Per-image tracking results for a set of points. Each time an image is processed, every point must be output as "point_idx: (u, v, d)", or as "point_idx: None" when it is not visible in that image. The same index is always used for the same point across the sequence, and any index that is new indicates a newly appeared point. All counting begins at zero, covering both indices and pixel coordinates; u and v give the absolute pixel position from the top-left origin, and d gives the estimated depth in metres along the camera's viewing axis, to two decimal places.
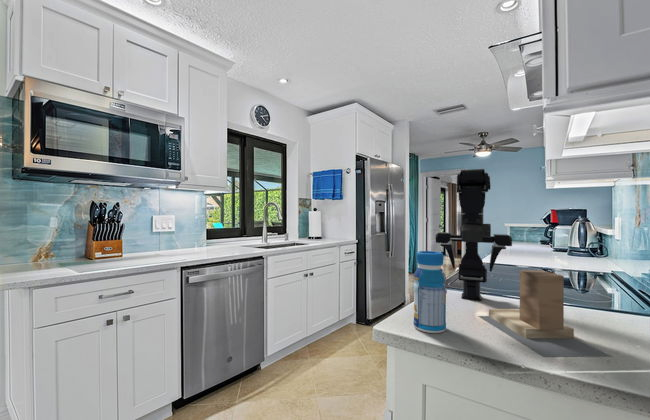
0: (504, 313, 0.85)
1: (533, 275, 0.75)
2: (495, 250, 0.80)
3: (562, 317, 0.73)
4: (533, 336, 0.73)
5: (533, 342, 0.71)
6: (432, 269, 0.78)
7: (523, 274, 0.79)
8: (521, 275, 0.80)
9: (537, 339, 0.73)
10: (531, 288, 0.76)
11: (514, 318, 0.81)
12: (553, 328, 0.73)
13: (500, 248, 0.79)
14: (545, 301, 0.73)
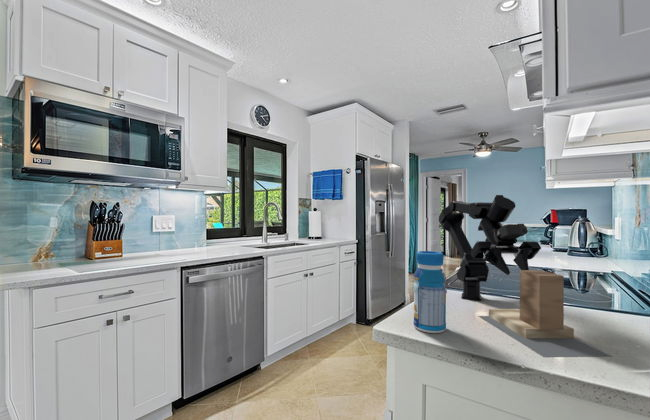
0: (504, 313, 0.85)
1: (533, 275, 0.75)
2: (524, 252, 0.88)
3: (562, 317, 0.73)
4: (533, 336, 0.73)
5: (533, 342, 0.71)
6: (432, 269, 0.78)
7: (523, 274, 0.79)
8: (521, 275, 0.80)
9: (537, 339, 0.73)
10: (531, 288, 0.76)
11: (514, 318, 0.81)
12: (553, 328, 0.73)
13: (528, 249, 0.88)
14: (545, 301, 0.73)
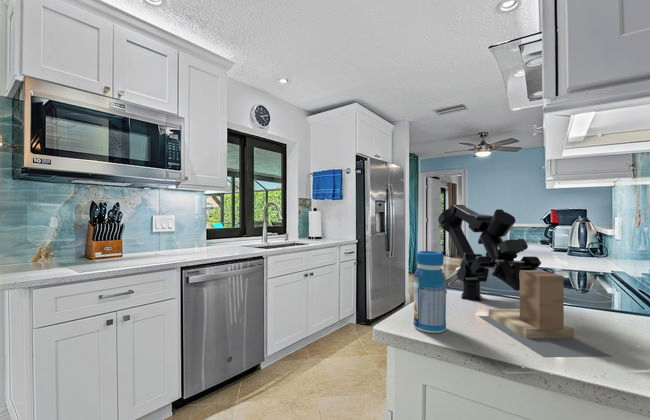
0: (504, 313, 0.85)
1: (533, 275, 0.75)
2: (516, 267, 0.88)
3: (562, 317, 0.73)
4: (533, 336, 0.73)
5: (533, 342, 0.71)
6: (432, 269, 0.78)
7: (523, 274, 0.79)
8: (521, 275, 0.80)
9: (537, 339, 0.73)
10: (531, 288, 0.76)
11: (514, 318, 0.81)
12: (553, 328, 0.73)
13: (520, 264, 0.88)
14: (545, 301, 0.73)
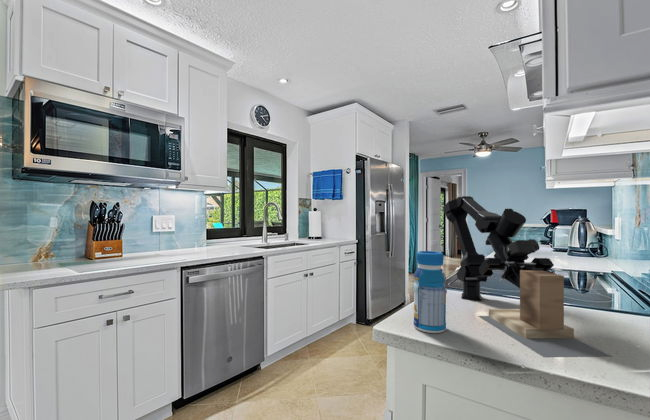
0: (504, 313, 0.85)
1: (533, 275, 0.75)
2: (527, 269, 0.83)
3: (562, 317, 0.73)
4: (533, 336, 0.73)
5: (533, 342, 0.71)
6: (432, 269, 0.78)
7: (523, 274, 0.79)
8: (521, 275, 0.79)
9: (537, 339, 0.73)
10: (532, 289, 0.76)
11: (514, 318, 0.81)
12: (553, 328, 0.73)
13: (531, 266, 0.83)
14: (545, 301, 0.73)
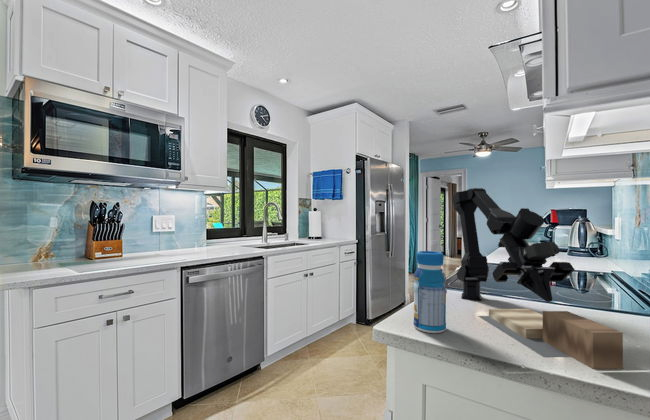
0: (504, 313, 0.85)
1: (591, 357, 0.59)
2: (546, 275, 0.77)
3: None
4: (533, 336, 0.73)
5: (533, 342, 0.71)
6: (432, 269, 0.78)
7: (589, 338, 0.60)
8: (587, 333, 0.60)
9: (537, 339, 0.73)
10: (576, 347, 0.63)
11: (514, 318, 0.81)
12: None
13: (550, 271, 0.77)
14: None
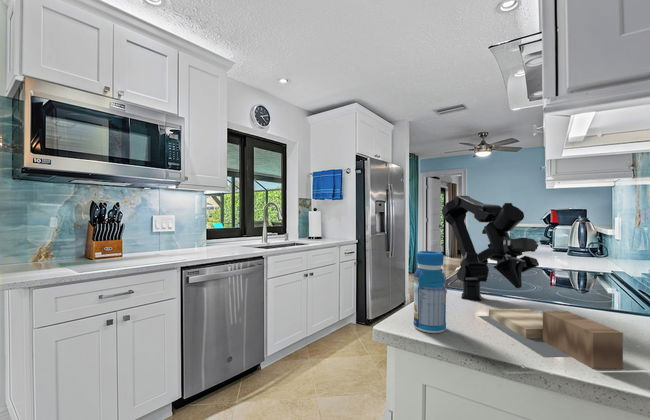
0: (504, 313, 0.85)
1: (591, 357, 0.59)
2: (520, 265, 0.87)
3: None
4: (533, 336, 0.73)
5: (533, 342, 0.71)
6: (432, 269, 0.78)
7: (589, 338, 0.60)
8: (587, 333, 0.60)
9: (537, 339, 0.73)
10: (576, 347, 0.63)
11: (514, 318, 0.81)
12: None
13: (524, 263, 0.87)
14: None
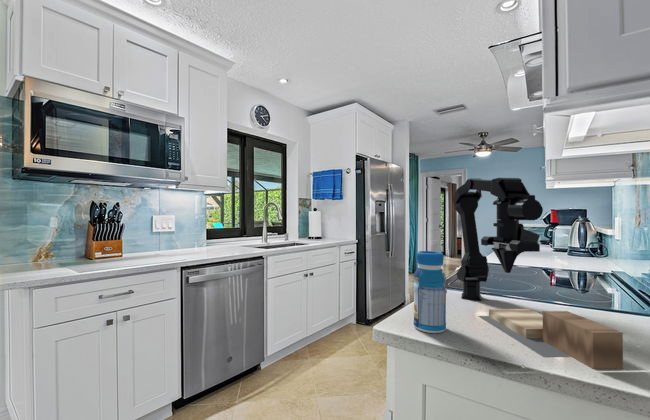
0: (504, 313, 0.85)
1: (591, 357, 0.59)
2: None
3: None
4: (533, 336, 0.73)
5: (533, 342, 0.71)
6: (432, 269, 0.78)
7: (589, 338, 0.60)
8: (587, 333, 0.60)
9: (537, 339, 0.73)
10: (576, 347, 0.63)
11: (514, 318, 0.81)
12: None
13: None
14: None
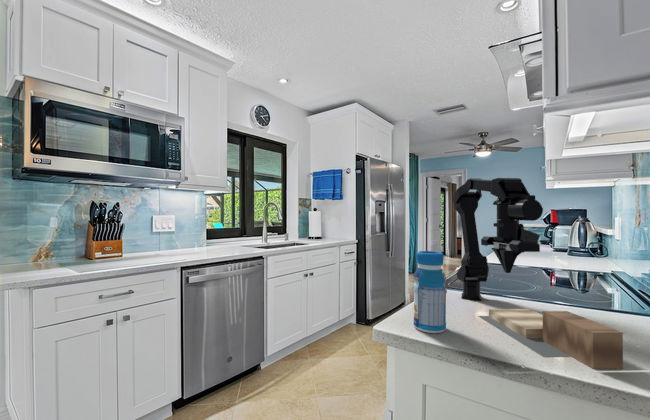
0: (504, 313, 0.85)
1: (591, 357, 0.59)
2: None
3: None
4: (533, 336, 0.73)
5: (533, 342, 0.71)
6: (432, 269, 0.78)
7: (589, 338, 0.60)
8: (587, 333, 0.60)
9: (537, 339, 0.73)
10: (576, 347, 0.63)
11: (514, 318, 0.81)
12: None
13: None
14: None
